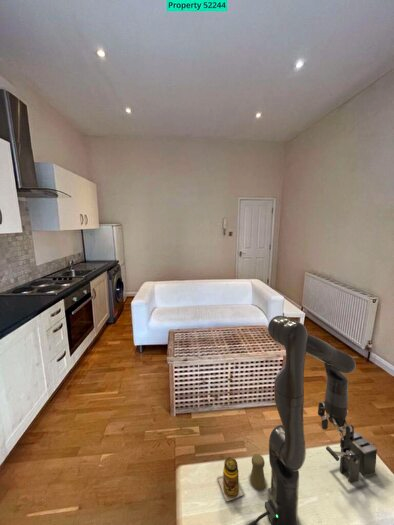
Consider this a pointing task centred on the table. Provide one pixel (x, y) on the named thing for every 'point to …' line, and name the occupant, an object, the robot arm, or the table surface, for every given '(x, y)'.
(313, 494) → the table surface
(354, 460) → the switch bracket
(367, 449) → the toaster body
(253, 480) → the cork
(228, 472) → the condiment
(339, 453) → the switch lever
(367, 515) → the table surface
